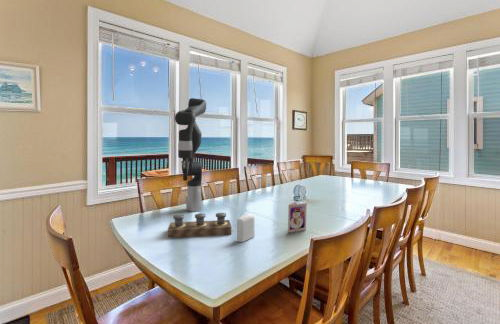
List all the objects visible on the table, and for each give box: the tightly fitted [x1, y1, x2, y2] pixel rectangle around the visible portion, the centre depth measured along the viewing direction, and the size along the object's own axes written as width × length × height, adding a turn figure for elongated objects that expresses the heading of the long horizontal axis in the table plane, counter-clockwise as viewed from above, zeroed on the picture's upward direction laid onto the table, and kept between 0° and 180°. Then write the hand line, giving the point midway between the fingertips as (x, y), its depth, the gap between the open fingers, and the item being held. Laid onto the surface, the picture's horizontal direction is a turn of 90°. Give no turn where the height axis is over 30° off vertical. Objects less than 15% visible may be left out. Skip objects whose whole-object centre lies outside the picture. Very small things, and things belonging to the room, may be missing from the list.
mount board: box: [167, 219, 232, 239], centre depth 141 cm, size 32×12×4 cm, turn 100°
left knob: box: [172, 214, 185, 227], centre depth 139 cm, size 6×6×5 cm
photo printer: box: [236, 213, 256, 243], centre depth 132 cm, size 10×4×12 cm, turn 140°
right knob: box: [215, 212, 227, 224], centre depth 143 cm, size 6×6×5 cm
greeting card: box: [287, 200, 307, 234], centre depth 146 cm, size 11×7×15 cm, turn 114°
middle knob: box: [194, 213, 207, 225], centre depth 141 cm, size 6×6×5 cm
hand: (185, 180), depth 147 cm, fingers closed
